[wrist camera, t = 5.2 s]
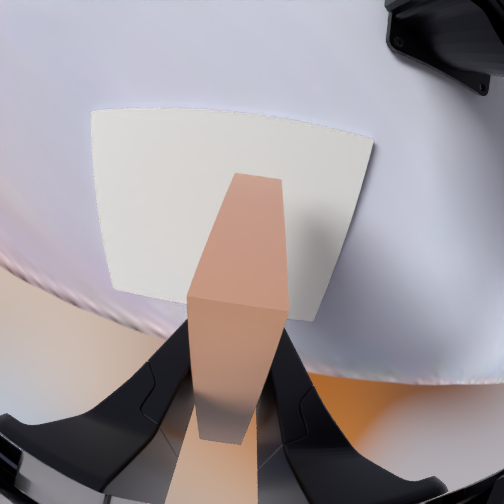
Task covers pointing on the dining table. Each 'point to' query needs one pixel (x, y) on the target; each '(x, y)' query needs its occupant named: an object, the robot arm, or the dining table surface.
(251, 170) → the mat
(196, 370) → the tile
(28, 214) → the dining table surface
